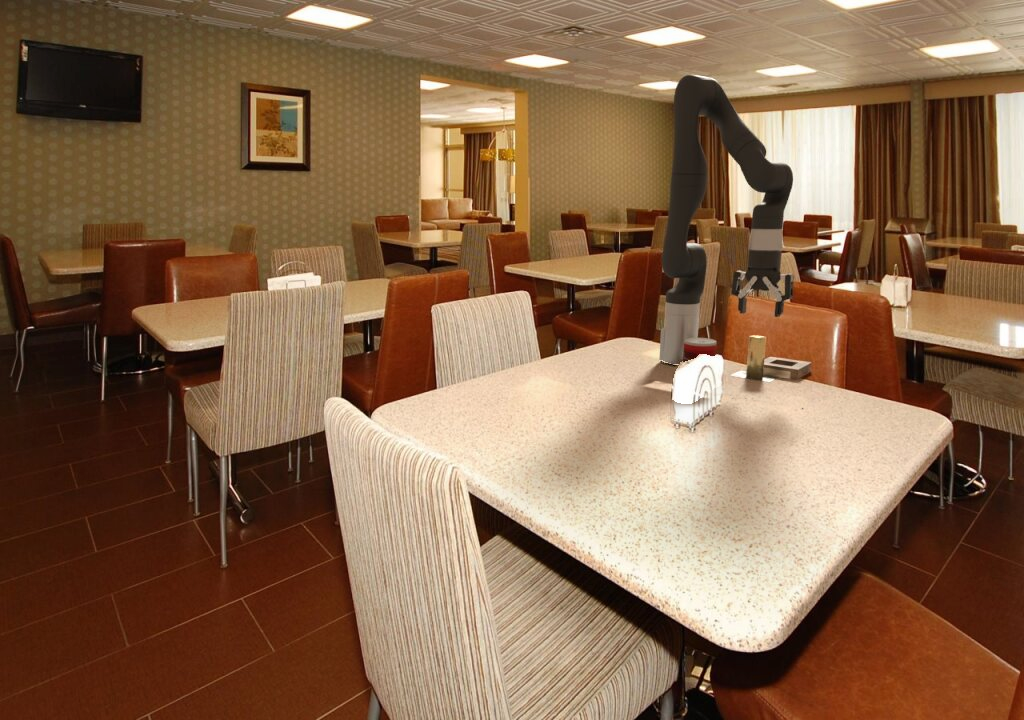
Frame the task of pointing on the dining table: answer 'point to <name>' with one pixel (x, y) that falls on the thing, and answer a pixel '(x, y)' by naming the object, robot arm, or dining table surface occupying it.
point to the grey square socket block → (786, 368)
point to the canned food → (698, 347)
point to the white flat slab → (765, 378)
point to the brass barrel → (756, 356)
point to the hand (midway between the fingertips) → (759, 314)
